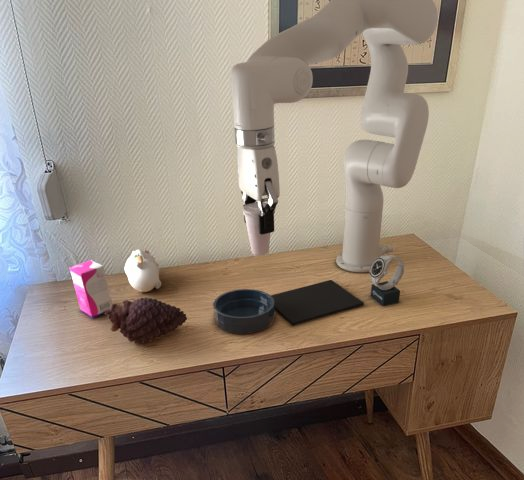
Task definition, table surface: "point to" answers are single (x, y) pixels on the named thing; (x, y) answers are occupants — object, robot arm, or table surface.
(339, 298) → the mat
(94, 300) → the supplement box
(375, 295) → the watch
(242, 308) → the dish
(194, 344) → the table surface
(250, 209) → the smoothie
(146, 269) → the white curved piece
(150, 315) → the pine cone
